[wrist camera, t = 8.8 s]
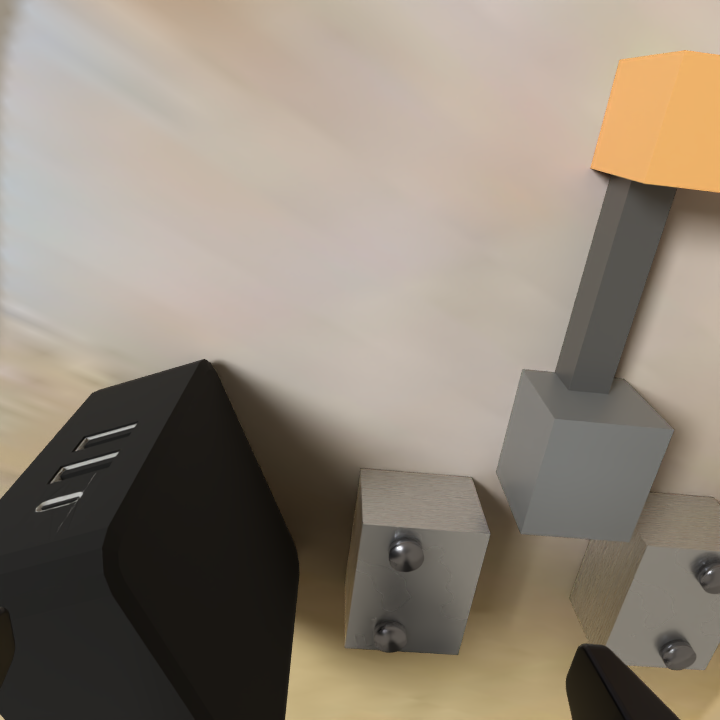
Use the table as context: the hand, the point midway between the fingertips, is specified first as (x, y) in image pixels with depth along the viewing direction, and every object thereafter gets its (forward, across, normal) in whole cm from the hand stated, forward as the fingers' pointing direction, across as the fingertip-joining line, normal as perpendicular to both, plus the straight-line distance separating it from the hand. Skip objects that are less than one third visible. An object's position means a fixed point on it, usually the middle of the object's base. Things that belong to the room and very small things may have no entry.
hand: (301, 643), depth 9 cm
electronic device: (+12, +4, +6) cm, 14 cm away
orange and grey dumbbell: (+12, -9, -2) cm, 15 cm away
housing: (+12, -9, +8) cm, 17 cm away
